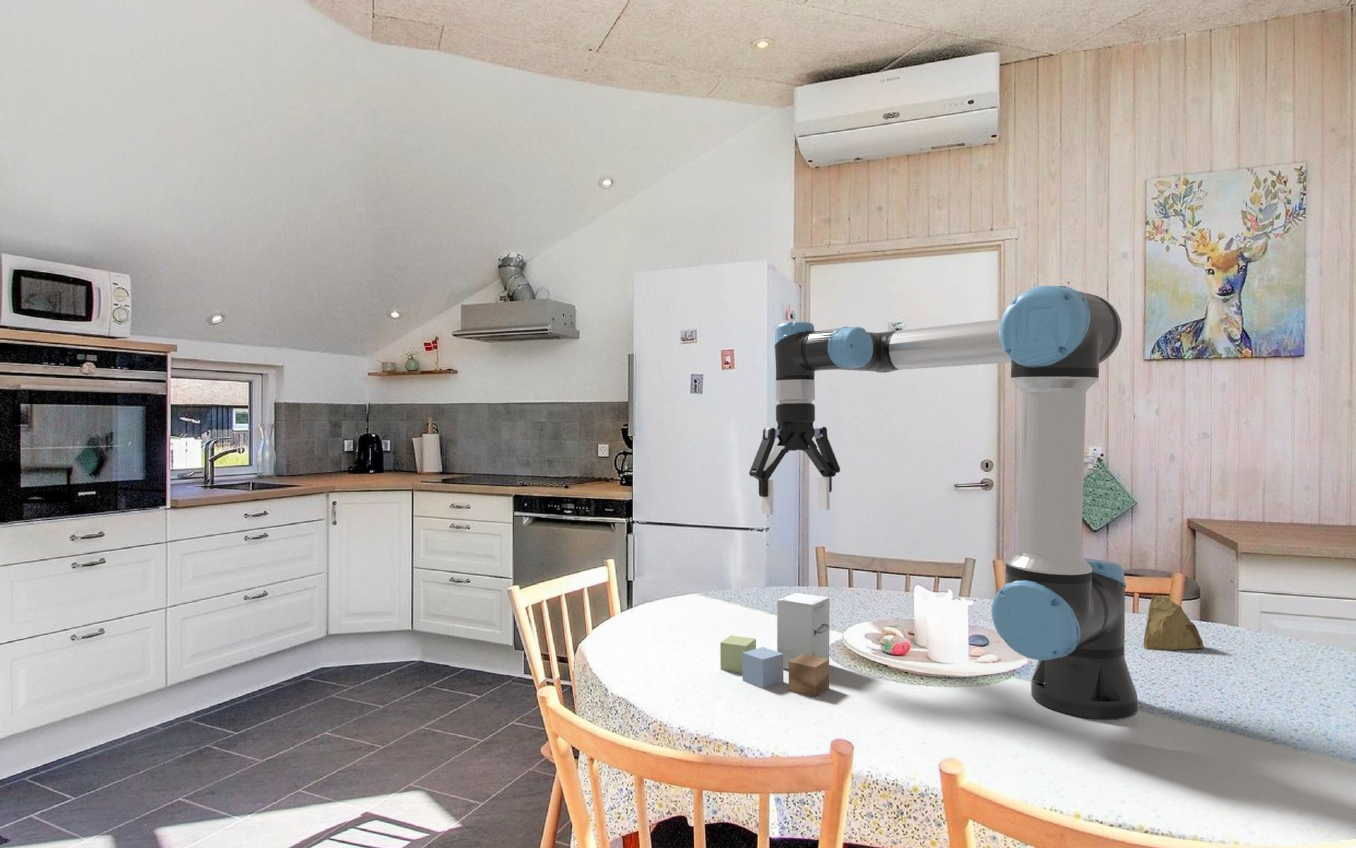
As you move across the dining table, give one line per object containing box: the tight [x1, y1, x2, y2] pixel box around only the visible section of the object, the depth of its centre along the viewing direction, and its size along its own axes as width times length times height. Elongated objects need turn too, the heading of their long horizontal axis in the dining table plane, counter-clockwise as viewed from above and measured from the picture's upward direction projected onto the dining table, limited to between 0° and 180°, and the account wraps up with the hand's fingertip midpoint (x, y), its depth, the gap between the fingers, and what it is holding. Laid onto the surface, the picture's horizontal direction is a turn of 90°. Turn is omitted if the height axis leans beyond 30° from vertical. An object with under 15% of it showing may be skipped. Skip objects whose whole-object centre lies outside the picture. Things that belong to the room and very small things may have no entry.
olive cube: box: [719, 635, 757, 674], centre depth 142 cm, size 5×5×5 cm
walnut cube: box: [788, 654, 830, 698], centre depth 130 cm, size 5×5×5 cm
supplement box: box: [776, 592, 830, 671], centre depth 142 cm, size 7×7×13 cm
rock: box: [1143, 594, 1205, 651], centre depth 151 cm, size 11×9×10 cm
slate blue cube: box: [742, 646, 784, 689], centre depth 134 cm, size 5×5×5 cm
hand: (796, 511), depth 150 cm, fingers open, 13 cm apart
